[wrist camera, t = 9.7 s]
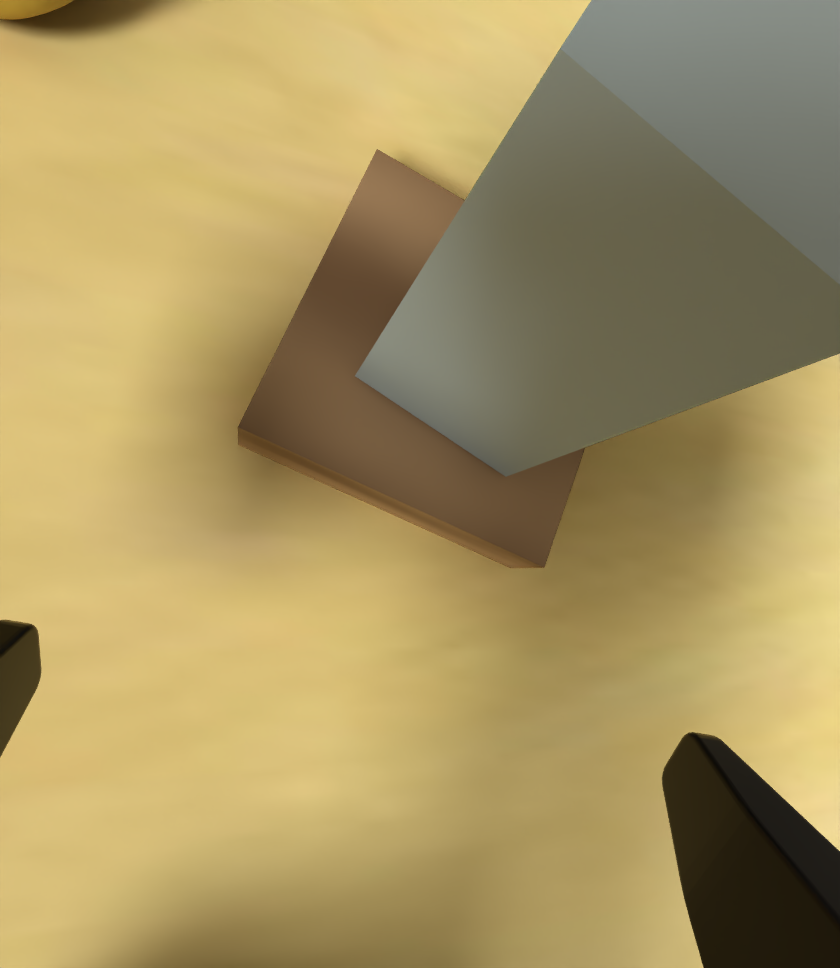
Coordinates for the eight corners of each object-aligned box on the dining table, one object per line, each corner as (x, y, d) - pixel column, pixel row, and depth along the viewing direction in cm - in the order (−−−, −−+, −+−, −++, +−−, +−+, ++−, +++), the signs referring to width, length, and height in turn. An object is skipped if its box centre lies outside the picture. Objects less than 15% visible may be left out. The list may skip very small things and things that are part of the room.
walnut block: (503, 567, 22) (544, 567, 19) (238, 448, 19) (238, 427, 17) (587, 332, 24) (634, 300, 21) (359, 204, 22) (376, 149, 19)
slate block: (505, 476, 19) (896, 332, 8) (354, 375, 18) (560, 48, 7) (576, 340, 20) (985, 61, 9) (442, 240, 19) (723, -202, 8)
